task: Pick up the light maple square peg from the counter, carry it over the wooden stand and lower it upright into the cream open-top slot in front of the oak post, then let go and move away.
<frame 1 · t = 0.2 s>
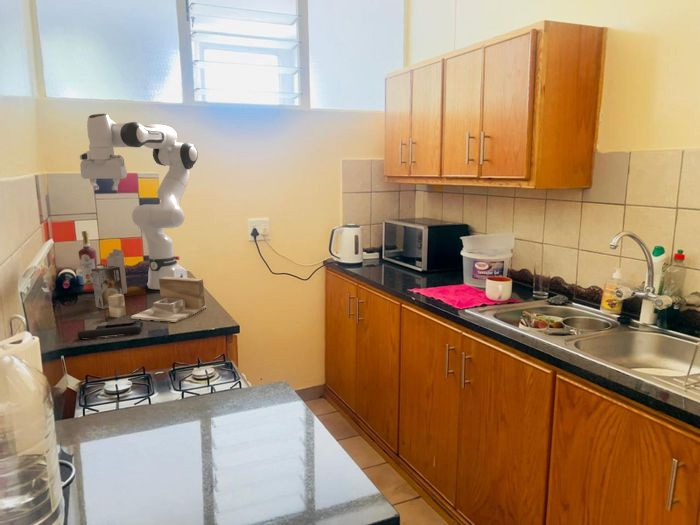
hand: (105, 190, 215), 47 cm above the countertop, tool pointing down, fingers open, 8 cm apart
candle: (113, 295, 238), on the countertop
maple peg: (117, 315, 206), on the countertop
door handle: (112, 332, 187), on the countertop
liquor: (91, 291, 246), on the countertop
coffee box: (109, 306, 221), on the countertop
wooden stand: (169, 313, 208), on the countertop
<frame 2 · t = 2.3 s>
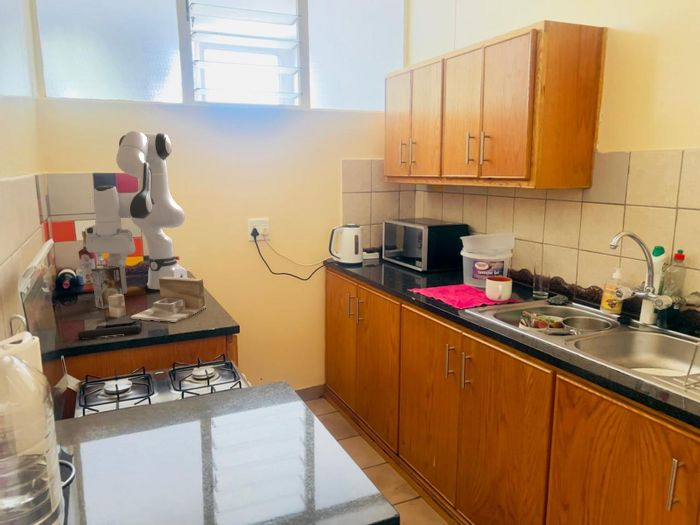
hand: (112, 264, 202), 20 cm above the countertop, tool pointing down, fingers open, 8 cm apart
nothing on the countertop moved.
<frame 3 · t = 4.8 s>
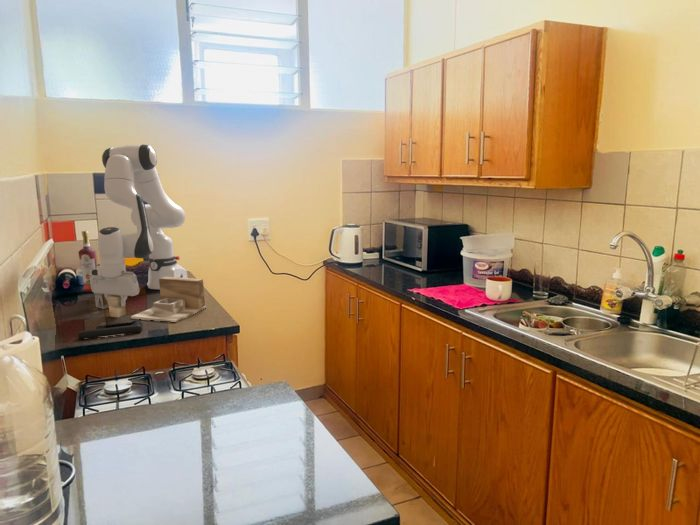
hand: (116, 305, 205), 4 cm above the countertop, tool pointing down, fingers closed on maple peg, 4 cm apart
maple peg: (117, 315, 206), on the countertop, touching gripper
everything else where it was.
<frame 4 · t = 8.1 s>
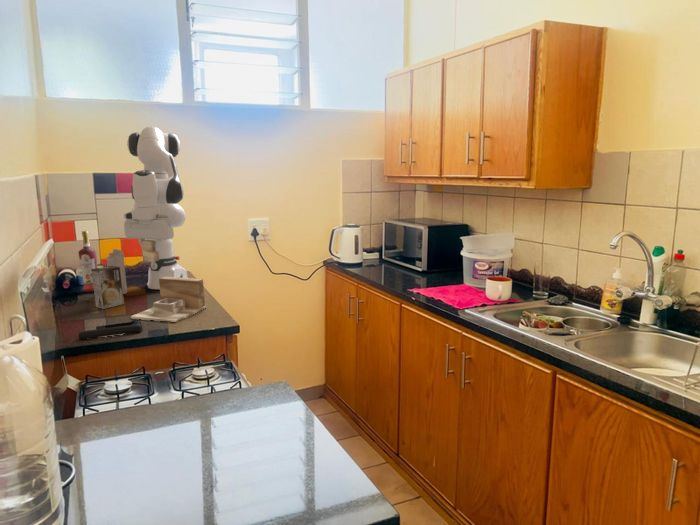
hand: (150, 250, 202), 25 cm above the countertop, tool pointing down, fingers closed on maple peg, 4 cm apart
maple peg: (151, 261, 203), point 21 cm above the countertop, touching gripper
everything else where it was.
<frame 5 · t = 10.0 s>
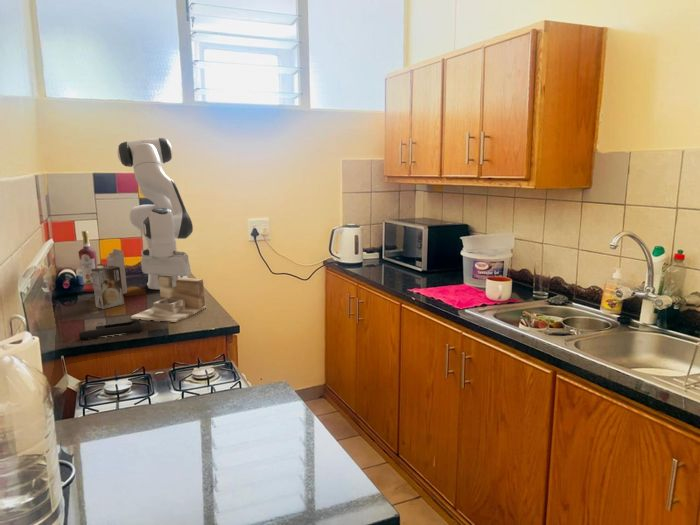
hand: (167, 285, 206), 11 cm above the countertop, tool pointing down, fingers closed on maple peg, 4 cm apart
maple peg: (168, 296, 206), point 7 cm above the countertop, touching gripper
everything else where it was.
when the fingers open (7 cm above the countertop, at t = 11.7 s): maple peg drops 1 cm, resting on wooden stand.
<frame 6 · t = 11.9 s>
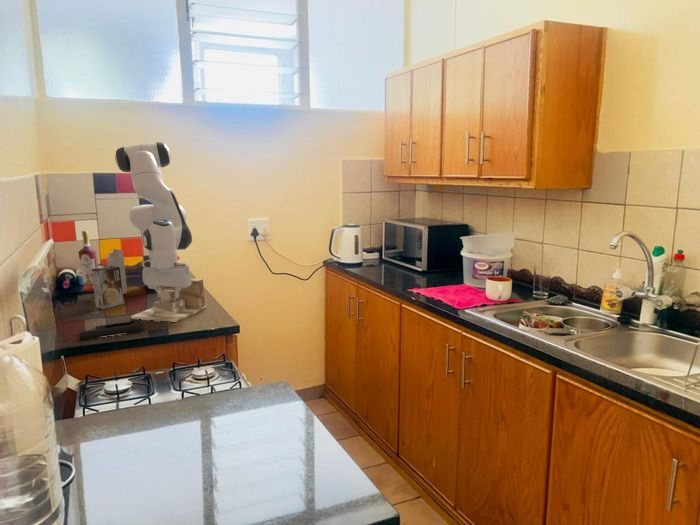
hand: (168, 297, 206), 7 cm above the countertop, tool pointing down, fingers open, 6 cm apart
maple peg: (169, 311, 207), point 1 cm above the countertop, touching wooden stand
everything else where it was.
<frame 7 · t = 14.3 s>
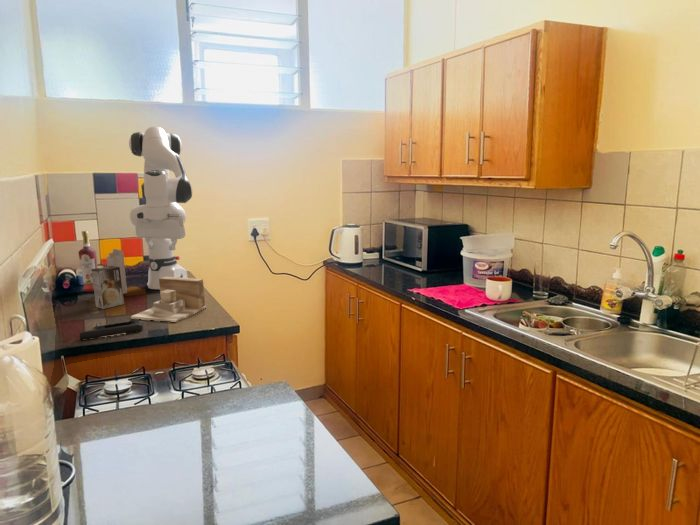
hand: (162, 249, 204), 25 cm above the countertop, tool pointing down, fingers open, 8 cm apart
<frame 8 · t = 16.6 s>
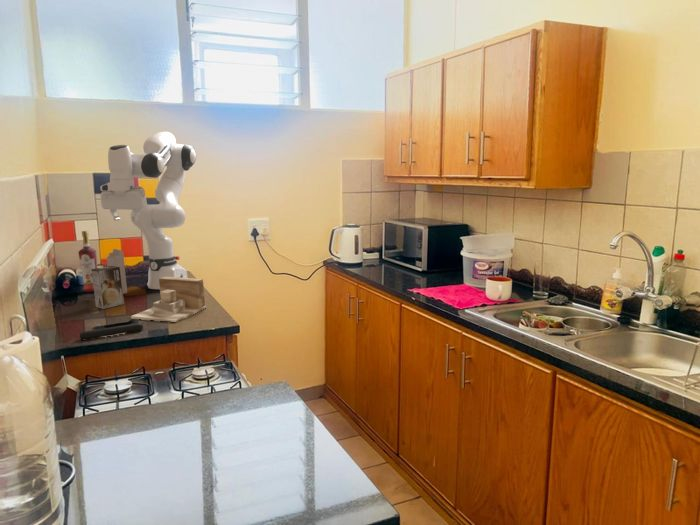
hand: (125, 220, 216), 35 cm above the countertop, tool pointing down, fingers open, 8 cm apart
at the end: maple peg 0.1 cm off-centre on the wooden stand, point 1.0 cm above the wooden stand's base; maple peg tilted 0°; the gripper is holding nothing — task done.
